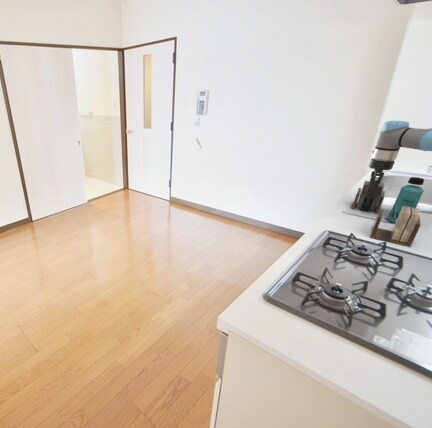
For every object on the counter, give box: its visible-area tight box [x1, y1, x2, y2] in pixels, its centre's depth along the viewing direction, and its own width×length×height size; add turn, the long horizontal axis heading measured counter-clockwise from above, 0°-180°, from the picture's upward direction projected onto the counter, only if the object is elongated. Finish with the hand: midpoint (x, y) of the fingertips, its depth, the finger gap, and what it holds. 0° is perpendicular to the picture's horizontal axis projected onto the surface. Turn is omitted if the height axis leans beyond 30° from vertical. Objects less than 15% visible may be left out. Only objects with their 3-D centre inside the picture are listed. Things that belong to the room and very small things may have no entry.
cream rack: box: [369, 206, 422, 248], centre depth 104 cm, size 11×9×12 cm
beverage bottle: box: [388, 176, 425, 224], centre depth 111 cm, size 6×7×20 cm
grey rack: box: [351, 180, 386, 215], centre depth 125 cm, size 9×9×13 cm
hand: (365, 208), depth 127 cm, fingers closed on cream book, grey rack, 8 cm apart
